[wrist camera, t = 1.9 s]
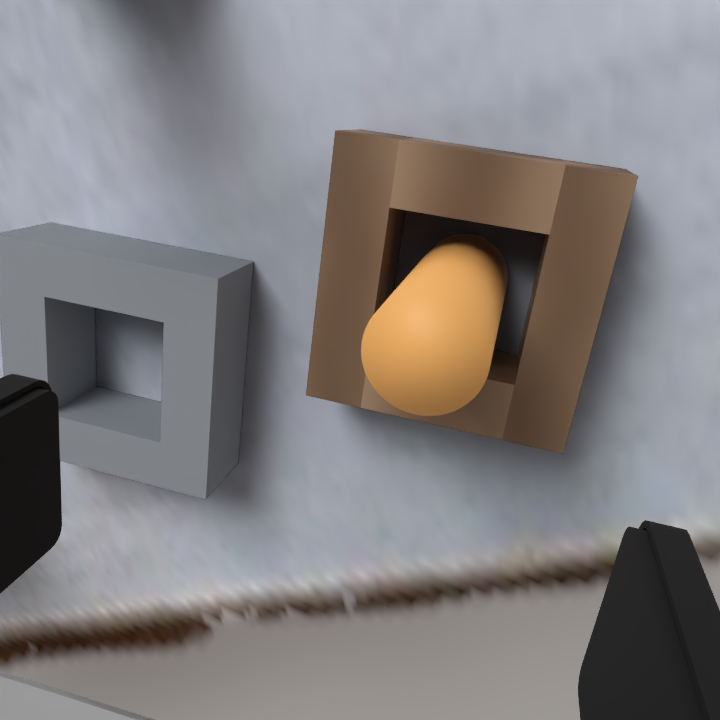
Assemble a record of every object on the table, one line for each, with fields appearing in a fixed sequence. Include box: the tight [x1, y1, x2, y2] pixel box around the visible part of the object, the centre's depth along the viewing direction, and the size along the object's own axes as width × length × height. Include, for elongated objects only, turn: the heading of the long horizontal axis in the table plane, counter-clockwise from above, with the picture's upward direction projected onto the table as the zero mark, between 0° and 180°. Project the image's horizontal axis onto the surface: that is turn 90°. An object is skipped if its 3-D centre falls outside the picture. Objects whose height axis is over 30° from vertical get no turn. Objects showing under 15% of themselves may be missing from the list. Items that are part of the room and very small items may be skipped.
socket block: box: [0, 223, 253, 499], centre depth 30 cm, size 10×10×4 cm
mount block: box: [306, 130, 638, 454], centre depth 26 cm, size 10×10×4 cm
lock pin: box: [361, 234, 508, 416], centre depth 23 cm, size 4×4×10 cm
